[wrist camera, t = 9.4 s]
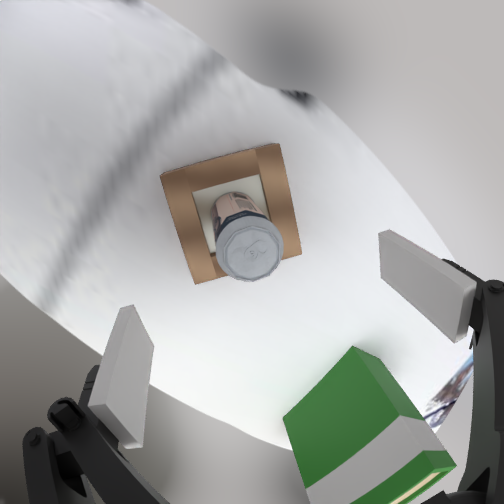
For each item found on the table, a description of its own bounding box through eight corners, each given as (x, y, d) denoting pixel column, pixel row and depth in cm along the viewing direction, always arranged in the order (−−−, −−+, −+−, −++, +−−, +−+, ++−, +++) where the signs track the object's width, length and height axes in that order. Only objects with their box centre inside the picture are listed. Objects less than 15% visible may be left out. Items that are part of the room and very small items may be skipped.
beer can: (201, 210, 31) (201, 250, 20) (238, 181, 30) (259, 204, 19) (229, 244, 33) (245, 299, 21) (265, 217, 32) (300, 258, 21)
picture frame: (163, 173, 30) (159, 175, 28) (273, 143, 31) (279, 143, 29) (195, 274, 35) (195, 284, 32) (295, 245, 36) (302, 253, 33)
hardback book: (313, 425, 49) (357, 532, 27) (282, 417, 46) (322, 538, 24) (379, 358, 45) (456, 465, 23) (352, 345, 43) (434, 468, 21)
